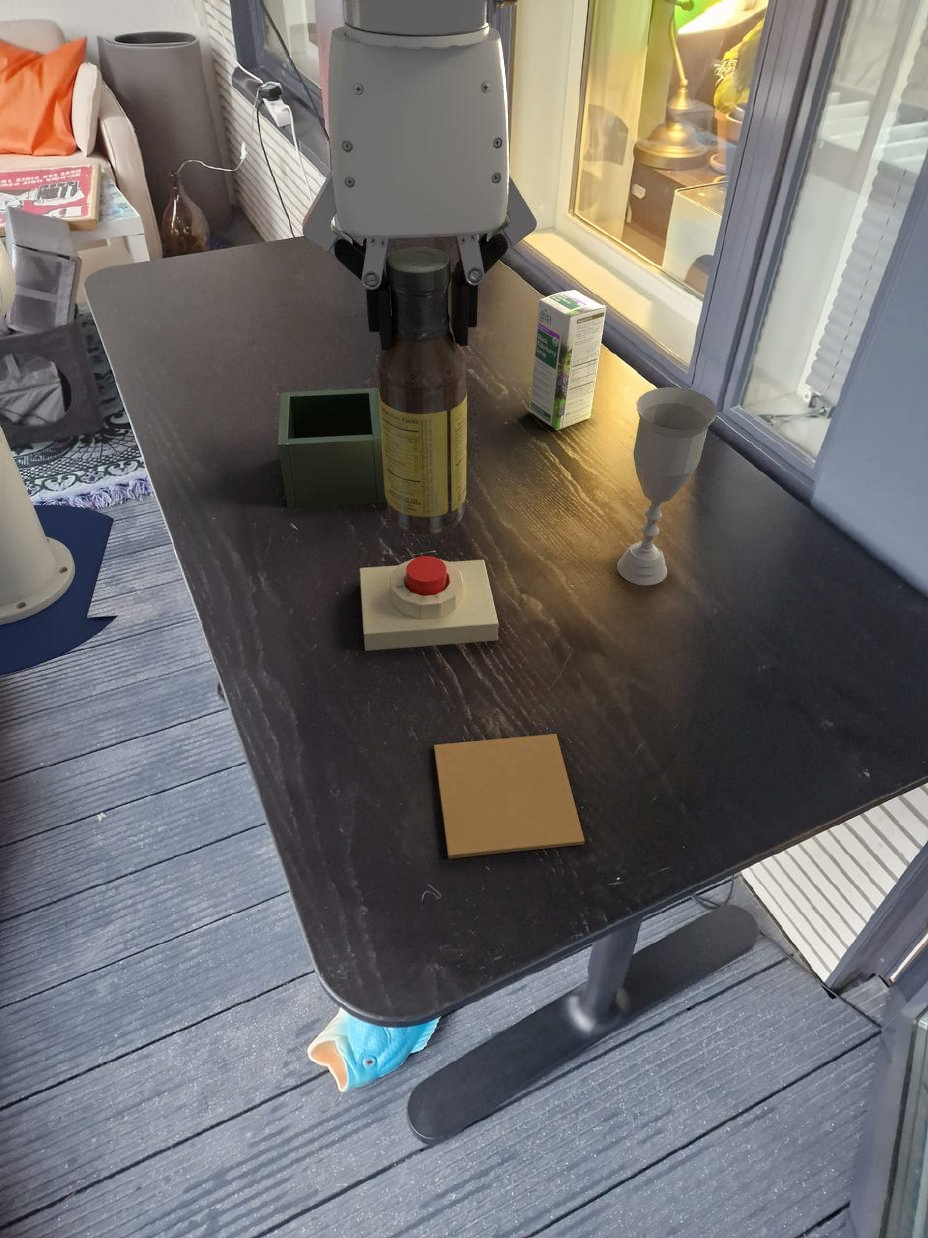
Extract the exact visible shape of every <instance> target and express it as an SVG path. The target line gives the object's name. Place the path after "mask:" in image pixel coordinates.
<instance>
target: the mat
mask: <svg viewBox="0 0 928 1238" xmlns="http://www.w3.org/2000/svg"><path fill="white" fill-rule="evenodd" d="M560 746H561V745H560V743H559V739H558V734H557V733H550V734H540V735H529V736H517V737H507V738H505V737H504V738H496V739H486V740H485V739H484V740H474V741H462V742H452V743H441V744H440V743H439V744H433V751H434V760H435V767H436V774H437V775H436V776H437V781H438V790H439V797H440V798H439V799H440V806H441V813H442V820H443V821H442V822H443V828H444V836H445V843H446V851H447V859H458V858H460V859H461V858H469V857H478V856H487V855H496V854H504V853H506V854H507V853H515V852H525V851H535V850H545V849H554V848H555V849H556V848H563V847H572V846H581V845H584V844H585V837H584V834H583V829H582V827H581V822H580V819H579V815H578V810H577V807H576V804H575V800H574V795H573V791H572V789H571V785H570V780H569V776H568V772H567V770H566V766H565V761H564V758H563V754H562V751H561V747H560Z"/></svg>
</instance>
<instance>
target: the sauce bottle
mask: <svg viewBox="0 0 928 1238" xmlns="http://www.w3.org/2000/svg"><path fill="white" fill-rule="evenodd" d="M451 272H452V269H451V259H450V257H449V255H448V254H447V253H446V252H444V251H443V250H440V249H437V248H433V247H426V246H414V247H404V248H401V249H397V250H395V251H393V252H392V253H390V254H389V256H388V257H387V258H385V275H386V277H387V282H388V284H389V288H390V298H391V322H392V348H390V350H382V349H381V348H380V350H379V353H378V354H379V357H378V365H377V367H378V368H377V369H378V375H377V374H376V388H378V402H379V416H380V429H381V443H382V458H383V473H384V487H385V497H386V499H387V501H388V502H387V512H388V515H389V518H390V521H391V523H392V524H393V525H394V526H395V527H396V528H398V529H399V530H403V531H404V532H406V533H410V534H413V535H415V536H420V537H429V536H434V535H439V534H443V533H447V532H449V531H452V530H453V529H454V528H455V527H457V525H458V524H460V522H461V521H462V518H463V516H464V515H465V511H466V503H465V502H466V501H465V500H466V496H467V440H468V439H467V438H468V437H467V436H468V435H467V433H468V432H467V431H468V430H467V429H468V390H467V387H466V386H467V381H466V380H467V379H466V378H467V376H466V373H467V364H466V357H465V354H464V351H463V349H462V346H459V344H456V341H455V338H454V335H453V332H452V331H451V329H450V324H451V315H450V314H449V285H450V284H451Z"/></svg>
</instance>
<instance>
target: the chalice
mask: <svg viewBox="0 0 928 1238" xmlns="http://www.w3.org/2000/svg"><path fill="white" fill-rule="evenodd" d="M636 411H637V414H638V417H639V419H638V424H637V429H636V436H635V442H634V447H633V453H632V454H633V461H634V467H635V472H636V477H637V480H638V482H639V485H640V488H641V490H642V494H643V495H644V497H645V498H646V499H647V500H649V501H651V504H650V506H649V508H648V509H647V510H646V511H645V516H646V519H647V521H646V524H645V525H643V526H641V528H640V530H641V533H642V534H643V540H642V541H637V542H635V543H633V544H631V545H629V547H628V548H627V549H626V551H625V552H624V553H623V554H622V556H621V557H620V558H619V559H618V561H617V563H616V569H617V571H618V573H619V575H620V576H621V577H622V578H623V579H624V580H626V581H627V582H629V583H631V584H635V585H638V586H653V585H657V584H659V583H662V582H663V581H664V580H665V579H666V578H667V575H668V567H667V565H666V560H665V557H664V553H663V551H662V550H661V549H660V548H659V547H658V545H656V544H654V539H655V536H658V535H659V533H660V529H659V527H658V522H659V520H660V519H661V518H663V513H662V511H661V506H662V503H666V502H669V501H670V500H672V499H673V498H674V497H675V496H676V494H678V492H679V491H681V489H682V488H683V487H684V486H685V485H686V483H688V481H689V479H691V477H692V475H693V473H694V472H695V471H696V469H697V467H698V465H699V463H700V461H701V457H702V453H703V449H704V445H705V441H706V436H707V433H708V429H709V427H710V426H711V425H712V424H713V422H714V421H715V420H716V418H717V415H718V408H717V405H716V404H715V403H714V402H713V400H712V399H710V398H709V397H708V396H706V395H705V394H703V393H700V392H698V391H695V390H692V389H688V388H683V387H672V386H665V387H660V388H654V389H651V390H648V391H645V393H643V394H642V395H640V396H639V398H638V400H636Z"/></svg>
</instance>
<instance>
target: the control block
mask: <svg viewBox="0 0 928 1238" xmlns="http://www.w3.org/2000/svg"><path fill="white" fill-rule="evenodd" d="M415 558H416V557H414V558H411V559H409V560H407V561H405V562H403V563H400V564H398V565H385V566H384V565H383V566H371V567H360V568H359V580H360V582H359V583H360V597H361V613H362V629H363V630H362V632H363V643H364V651H380V650H392V649H405V648H406V649H407V648H416V647H417V648H419V647H431V646H443V645H445V646H446V645H457V644H468V643H469V644H470V643H471V644H472V643H482V642H483V643H484V642H494V641H498V636H499V619H498V615H497V611H496V607H495V602H494V598H493V593H492V588H491V584H490V580H489V575H488V571H487V567H486V562H485V560H484V559H475V560H474V559H473V560H459V561H448V560H444V559H441V558H439V559H440V560H441V561H443V562H444V564H445V565H446V587H445V589H444V590H443V591H442V592H440V593H438V594H436V595H428V596H422V595H418V594H415V593H413V592H411V591H410V590H409V588H408V586H407V573H406V568H407V565H408V564H409V562H410V561H412V560H413V559H415Z"/></svg>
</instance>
